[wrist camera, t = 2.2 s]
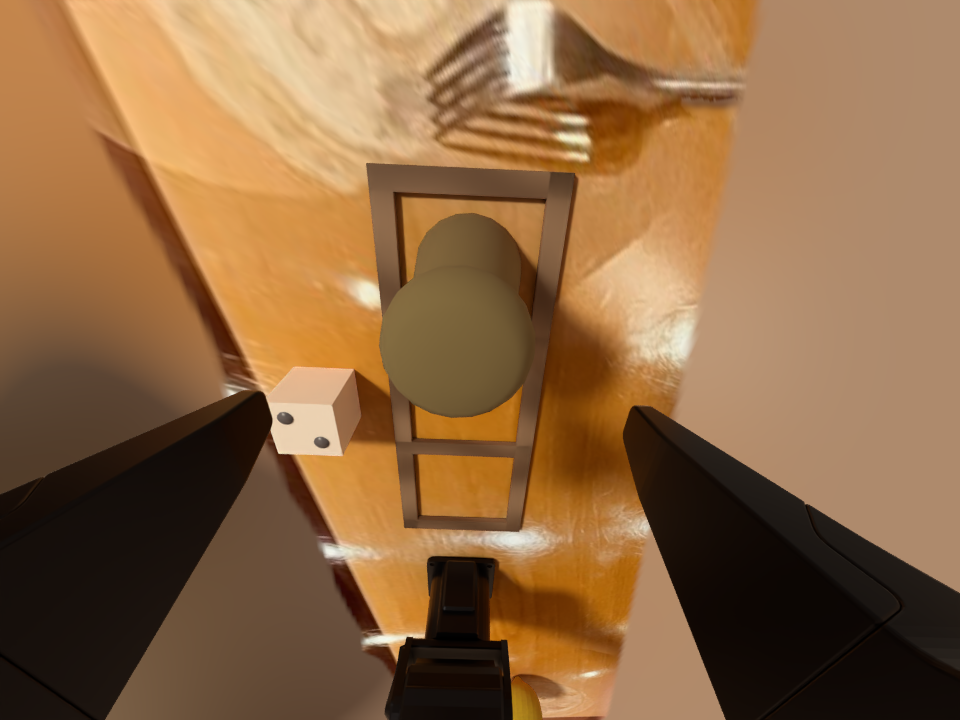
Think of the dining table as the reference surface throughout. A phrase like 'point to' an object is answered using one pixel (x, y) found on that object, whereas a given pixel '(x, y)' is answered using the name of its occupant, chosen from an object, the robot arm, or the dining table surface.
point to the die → (314, 411)
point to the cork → (460, 321)
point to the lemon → (524, 701)
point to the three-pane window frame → (556, 212)
